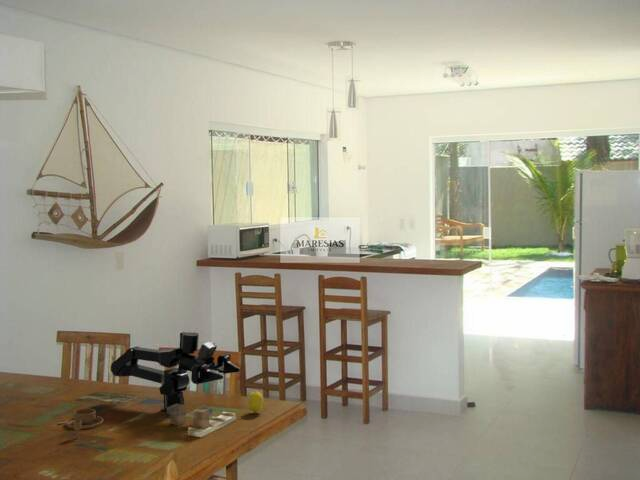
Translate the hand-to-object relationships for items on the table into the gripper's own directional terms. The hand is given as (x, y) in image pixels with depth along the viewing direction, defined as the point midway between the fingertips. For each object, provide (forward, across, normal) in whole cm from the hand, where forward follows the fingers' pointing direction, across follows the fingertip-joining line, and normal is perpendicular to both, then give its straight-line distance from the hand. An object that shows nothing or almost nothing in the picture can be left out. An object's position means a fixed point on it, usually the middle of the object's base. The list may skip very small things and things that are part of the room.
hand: (231, 373), depth 258 cm
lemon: (+4, +10, +17) cm, 20 cm away
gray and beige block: (-12, -12, +17) cm, 24 cm away
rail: (+1, -10, +16) cm, 19 cm away
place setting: (-37, -33, +19) cm, 53 cm away
